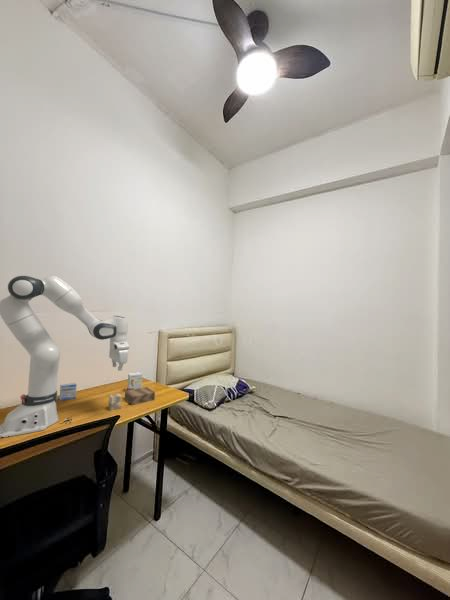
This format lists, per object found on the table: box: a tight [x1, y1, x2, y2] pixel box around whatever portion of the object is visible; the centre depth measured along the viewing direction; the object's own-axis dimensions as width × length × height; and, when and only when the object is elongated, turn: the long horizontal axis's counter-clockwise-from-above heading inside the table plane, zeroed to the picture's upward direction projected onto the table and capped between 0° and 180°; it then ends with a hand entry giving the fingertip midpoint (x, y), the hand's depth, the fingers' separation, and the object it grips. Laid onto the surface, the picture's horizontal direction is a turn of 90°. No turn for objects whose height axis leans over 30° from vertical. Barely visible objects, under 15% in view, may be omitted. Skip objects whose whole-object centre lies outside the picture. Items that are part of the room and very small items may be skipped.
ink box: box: [126, 371, 143, 391], centre depth 161 cm, size 9×5×12 cm, turn 126°
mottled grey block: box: [108, 393, 122, 412], centre depth 134 cm, size 5×5×7 cm
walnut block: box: [124, 386, 156, 406], centre depth 147 cm, size 14×12×5 cm
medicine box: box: [59, 382, 77, 402], centre depth 144 cm, size 8×4×9 cm, turn 131°
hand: (117, 368), depth 134 cm, fingers open, 8 cm apart
